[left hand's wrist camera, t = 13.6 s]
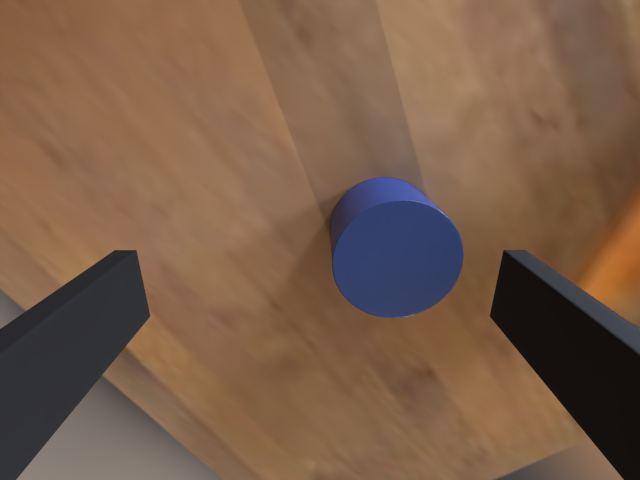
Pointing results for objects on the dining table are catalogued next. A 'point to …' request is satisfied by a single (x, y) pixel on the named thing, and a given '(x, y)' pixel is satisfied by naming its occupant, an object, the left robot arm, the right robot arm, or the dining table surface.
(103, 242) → the dining table surface
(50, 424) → the left robot arm
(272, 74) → the dining table surface
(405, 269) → the cylinder
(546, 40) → the dining table surface
